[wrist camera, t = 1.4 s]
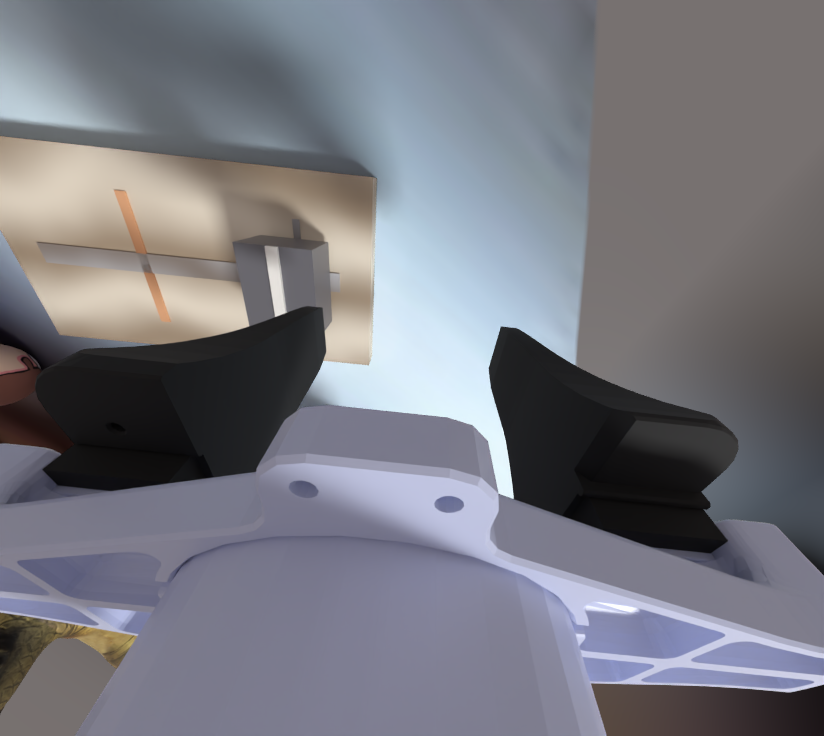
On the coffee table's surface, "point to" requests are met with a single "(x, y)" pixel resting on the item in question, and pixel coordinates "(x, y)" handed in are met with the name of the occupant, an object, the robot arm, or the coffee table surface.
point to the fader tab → (283, 276)
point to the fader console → (176, 239)
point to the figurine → (27, 637)
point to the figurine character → (16, 374)
